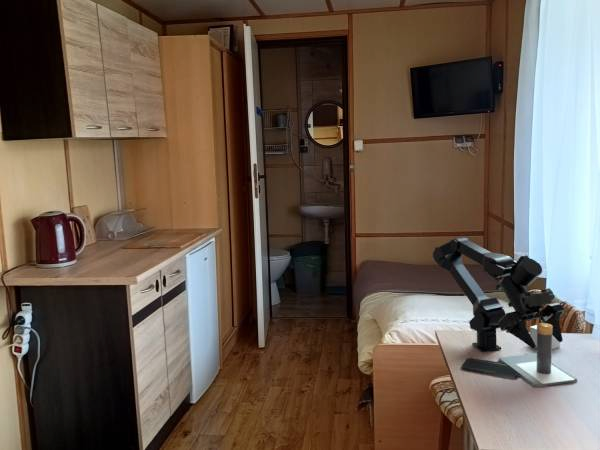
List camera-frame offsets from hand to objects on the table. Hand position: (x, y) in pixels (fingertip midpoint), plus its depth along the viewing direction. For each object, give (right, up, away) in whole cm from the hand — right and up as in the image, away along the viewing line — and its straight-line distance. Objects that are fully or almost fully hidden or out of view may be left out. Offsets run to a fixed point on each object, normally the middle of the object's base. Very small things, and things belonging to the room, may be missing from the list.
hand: (548, 344), depth 141 cm
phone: (-12, -9, +8) cm, 17 cm away
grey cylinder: (0, -8, +3) cm, 8 cm away
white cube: (+9, -6, +22) cm, 24 cm away
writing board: (-1, -8, +5) cm, 10 cm away
